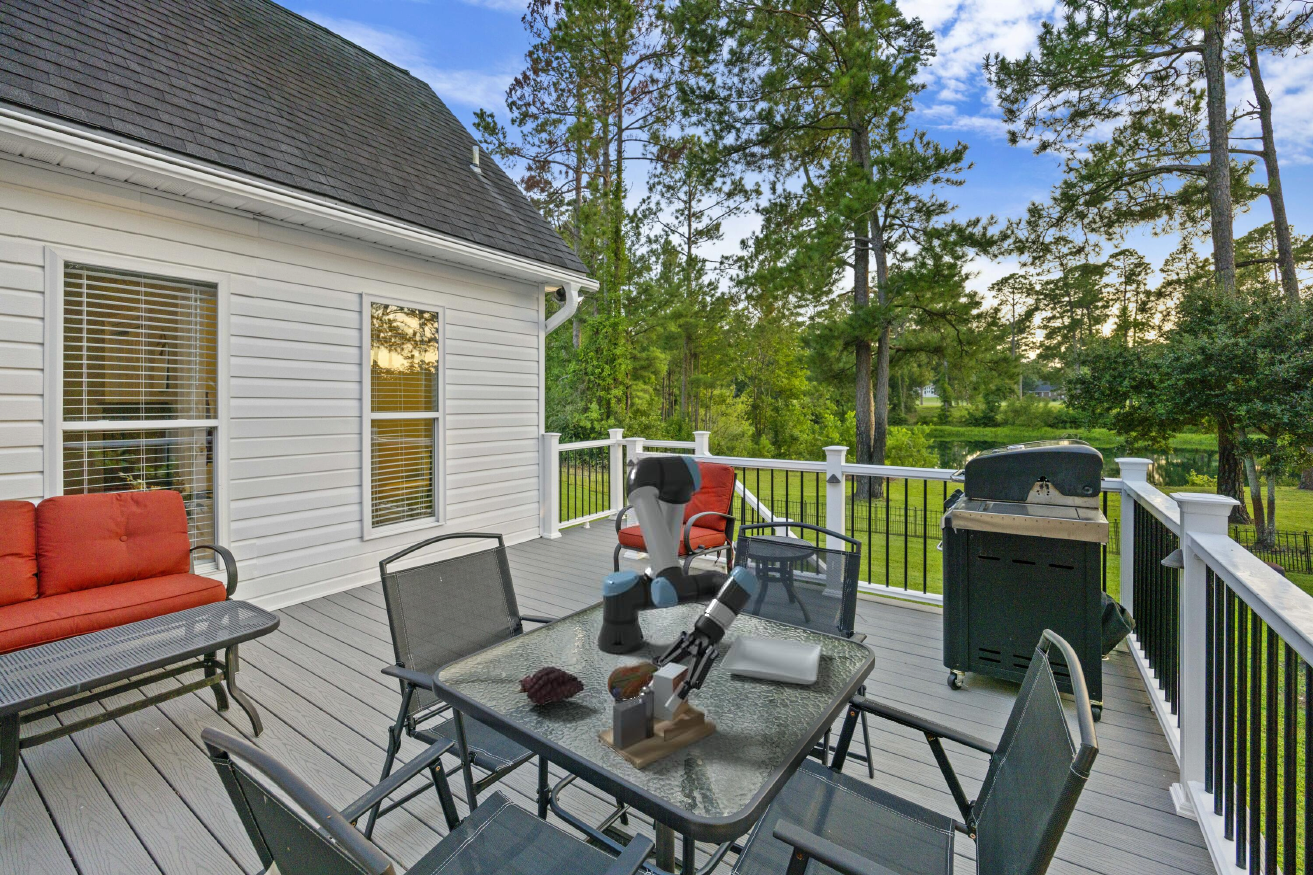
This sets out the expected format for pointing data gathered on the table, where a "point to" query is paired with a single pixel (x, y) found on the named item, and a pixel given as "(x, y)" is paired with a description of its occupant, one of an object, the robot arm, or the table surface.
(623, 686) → the tin
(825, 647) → the table surface
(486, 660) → the table surface
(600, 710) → the table surface
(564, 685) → the pine cone
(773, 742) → the table surface
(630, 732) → the hinge leaf
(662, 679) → the small box
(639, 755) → the tan wooden flat tray
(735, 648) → the square plate
